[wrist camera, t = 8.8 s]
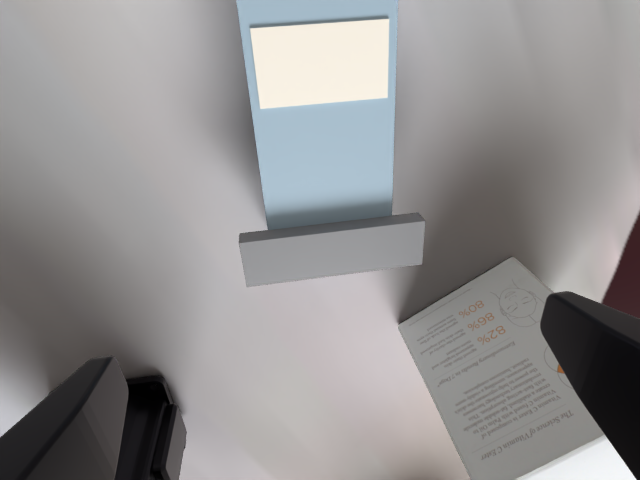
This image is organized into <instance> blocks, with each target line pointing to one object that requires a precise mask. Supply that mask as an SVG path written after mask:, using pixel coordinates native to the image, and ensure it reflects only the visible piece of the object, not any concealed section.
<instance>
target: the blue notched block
mask: <svg viewBox="0 0 640 480" xmlns="http://www.w3.org/2000/svg"><path fill="white" fill-rule="evenodd" d="M236 2H237V9H238V16H239V23H240V31H241V38H242V45H243V53H244V60H245V67H246V74H247V82H248V89H249V96H250V104H251V111H252V118H253V125H254V133H255V140H256V147H257V155H258V162H259V169H260V176H261V184H262V191H263V198H264V205H265V213H266V220H267V227H268V230H265V231H256V232H248V233H240V235H239V247H240V252H241V258H242V263H243V269H244V274H245V280H246V285H247V287H252V286H260V285H268V284H275V283H283V282H291V281H299V280H306V279H314V278H322V277H329V276H337V275H345V274H353V273H360V272H368V271H376V270H383V269H391V268H399V267H407V266H414V265H422V260H423V246H424V233H425V220H424V219H423V218H422V217H421V215H420V214H419V213H410V214H402V215H393V216H392V192H393V157H394V122H395V88H396V53H397V18H398V0H236Z"/></svg>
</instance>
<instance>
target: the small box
mask: <svg viewBox="0 0 640 480" xmlns="http://www.w3.org/2000/svg"><path fill="white" fill-rule="evenodd" d="M552 293H554V292H553V291H552V290H551V289H550V288H549V287H547V286H546V285H545V284H544V283H543V282H542V281H541V280H539V279H538V278H537V277H536V276H535V275H534V274H533V273H532V272H530V271H529V270H528V269H527V268H526V267H525V266H523V265H522V264H521V263H520V262H519V261H518V260H517V259H516V258H514V257H511V258H509V259H507V260H505V261H504V262H502V263H500V264H499V265H497V266H496V267H494V268H492V269H490V270H489V271H487V272H486V273H484V274H482V275H480V276H479V277H477V278H475V279H474V280H472V281H470V282H469V283H467V284H465V285H464V286H462V287H460V288H459V289H457V290H455V291H454V292H452V293H450V294H449V295H447V296H445V297H444V298H442V299H440V300H439V301H437V302H435V303H434V304H432V305H430V306H429V307H427V308H426V309H424V310H422V311H421V312H419V313H417V314H416V315H414V316H412V317H411V318H409V319H407V320H406V321H404V322H402V323H401V324H399V325H398V329H399V331H400V333H401V335H402V337H403V339H404V341H405V343H406V345H407V347H408V349H409V351H410V353H411V355H412V358H413V360H414V362H415V364H416V366H417V368H418V370H419V372H420V374H421V376H422V378H423V380H424V382H425V384H426V386H427V388H428V390H429V393H430V395H431V397H432V399H433V401H434V403H435V405H436V407H437V409H438V411H439V413H440V415H441V418H442V420H443V422H444V424H445V426H446V428H447V431H448V433H449V435H450V437H451V439H452V441H453V443H454V445H455V447H456V449H457V451H458V454H459V456H460V458H461V460H462V462H463V464H464V466H465V468H466V470H467V472H468V474H469V476H470V478H471V480H636V478H635V477H634V476H633V474H632V473H631V471H630V470H629V468H628V467H627V466H626V464H625V463H624V461H623V460H622V459H621V457H620V456H619V454H618V453H617V452H616V450H615V449H614V447H613V446H612V444H611V443H610V442H609V440H608V439H607V437H606V436H605V435H604V433H603V432H602V430H601V429H600V427H599V426H598V425H597V423H596V422H595V420H594V419H593V418H592V416H591V415H590V413H589V412H588V410H587V409H586V408H585V406H584V405H583V403H582V402H581V400H580V399H579V397H578V396H577V394H576V392H575V391H574V389H573V387H572V386H571V384H570V382H569V380H568V379H567V377H566V375H565V373H564V372H563V370H562V368H561V366H560V365H559V363H558V361H557V359H556V358H555V356H554V354H553V353H552V351H551V349H550V347H549V346H548V344H547V342H546V340H545V339H544V337H543V335H542V333H541V329H540V321H541V317H542V313H543V309H544V305H545V302H546V299H547V297H548V296H549V295H550V294H552Z"/></svg>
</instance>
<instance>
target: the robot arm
mask: <svg viewBox="0 0 640 480" xmlns="http://www.w3.org/2000/svg"><path fill="white" fill-rule="evenodd" d="M540 329H541V333H542V335H543V337H544V339H545V340H546V342H547V344H548V346H549V347H550V349H551V351H552V353H553V354H554V356H555V358H556V359H557V361H558V363H559V365H560V366H561V368H562V370H563V372H564V373H565V375H566V377H567V379H568V380H569V382H570V384H571V386H572V387H573V389H574V391H575V392H576V394H577V396H578V397H579V399H580V400H581V402H582V403H583V405H584V406H585V408H586V409H587V410H588V412H589V413H590V415H591V416H592V418H593V419H594V420H595V422H596V423H597V425H598V426H599V427H600V429H601V430H602V432H603V433H604V435H605V436H606V437H607V439H608V440H609V442H610V443H611V444H612V446H613V447H614V449H615V450H616V452H617V453H618V454H619V456H620V457H621V459H622V460H623V461H624V463H625V464H626V466H627V467H628V468H629V470H630V471H631V473H632V474H633V476H634V477H635V478H636V480H640V319H639V318H636V317H634V316H631V315H629V314H626V313H623V312H621V311H618V310H616V309H613V308H611V307H608V306H605V305H603V304H601V303H598V302H596V301H593V300H590V299H588V298H585V297H583V296H580V295H578V294H575V293H573V292H569V291H565V292H558V293H552V294H550V295H549V296H548V297H547V299H546V302H545V305H544V309H543V313H542V317H541V321H540ZM154 384H157V385H154ZM186 433H187V431H186V428H185V425H184V422H183V419H182V416H181V413H180V410H179V407H178V406H177V405H176V404H175V403H174V404H173V401H172V398H171V395H170V393H169V390H168V387H167V384H166V381H165V379H164V378H163V377H161V376H150V377H143V378H136V379H130V380H125V378H124V375H123V373H122V370H121V368H120V365H119V363H118V361H117V359H116V358H115V357H114V356H103V357H96V358H92V359H90V360H88V361H87V362H86V363H85V364H84V365H83V366H81V367H80V368H79V369H78V370H77V371H76V372H75V373H73V374H72V375H71V376H70V377H69V378H68V379H67V380H65V381H64V382H63V383H62V384H61V385H60V386H59V387H57V388H56V389H55V390H54V391H52V392H50V393H49V395H48V396H47V397H46V398H45V399H44V400H43V401H41V402H40V403H39V404H38V405H37V406H36V407H35V408H33V409H32V410H31V411H30V412H29V413H28V414H27V415H25V416H24V417H23V418H22V419H21V420H20V421H19V422H17V423H16V424H15V425H14V426H13V427H12V428H11V429H9V430H8V431H7V432H6V433H5V434H4V435H3V436H1V437H0V480H179V475H180V469H181V463H182V457H183V451H184V449H185V445H186Z"/></svg>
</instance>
